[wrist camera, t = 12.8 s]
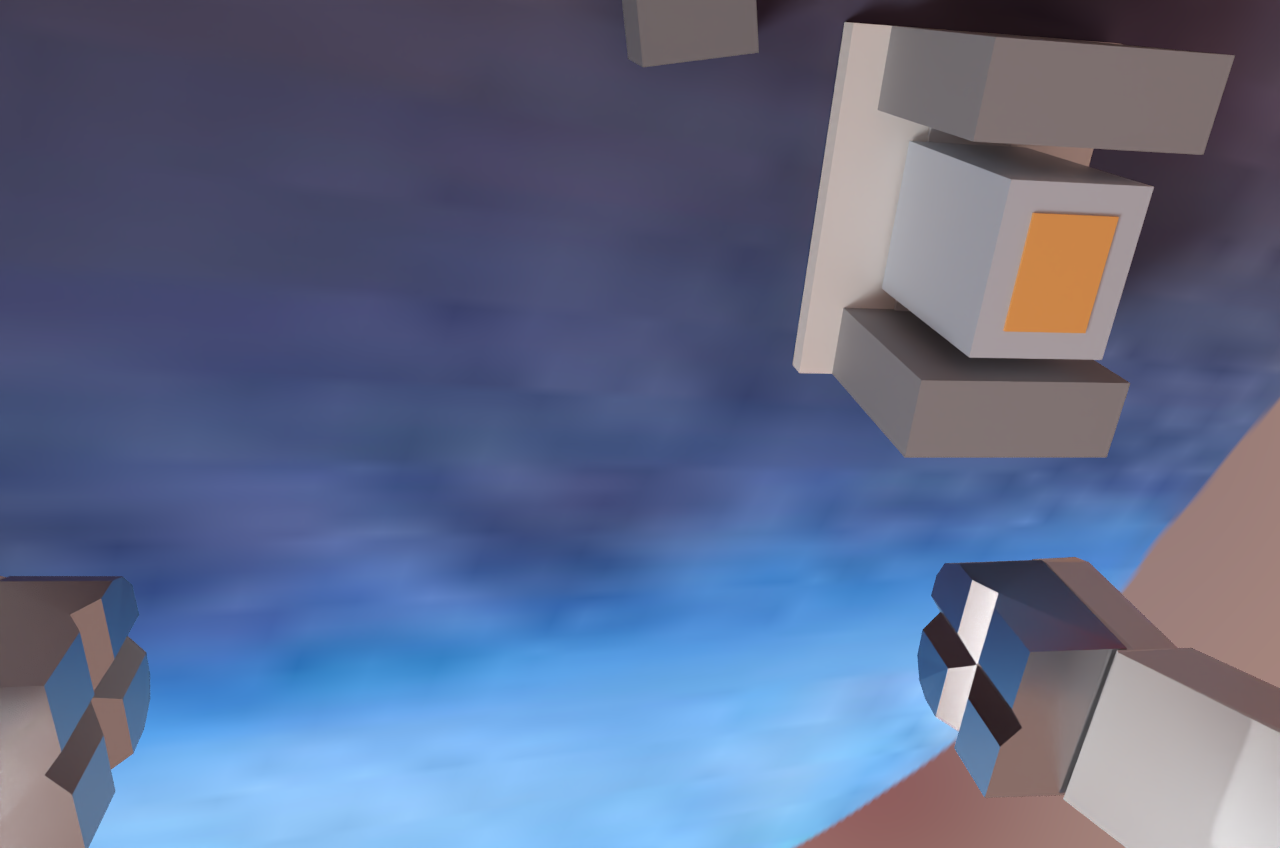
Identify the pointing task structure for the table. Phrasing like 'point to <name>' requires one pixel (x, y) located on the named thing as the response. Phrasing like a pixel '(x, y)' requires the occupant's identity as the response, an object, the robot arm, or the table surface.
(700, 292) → the table surface
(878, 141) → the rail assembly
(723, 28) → the block
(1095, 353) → the block
